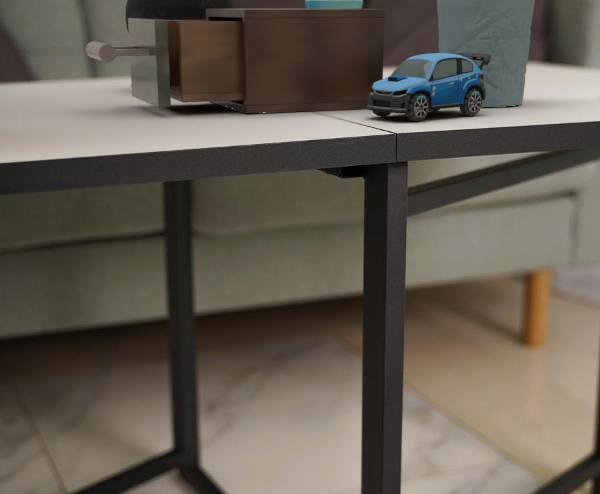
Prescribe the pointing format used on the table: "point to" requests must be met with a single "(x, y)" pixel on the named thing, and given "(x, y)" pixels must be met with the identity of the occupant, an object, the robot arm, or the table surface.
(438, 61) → the toy car
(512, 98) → the grey-green crumpled block
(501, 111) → the table surface
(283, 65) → the cabinet
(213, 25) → the drawer
